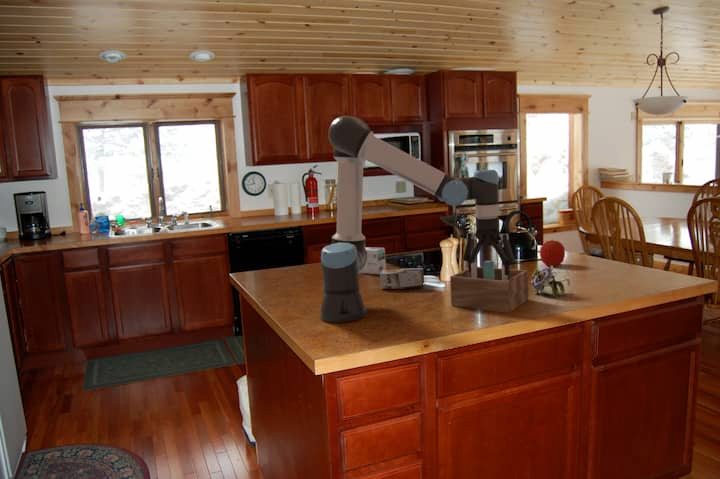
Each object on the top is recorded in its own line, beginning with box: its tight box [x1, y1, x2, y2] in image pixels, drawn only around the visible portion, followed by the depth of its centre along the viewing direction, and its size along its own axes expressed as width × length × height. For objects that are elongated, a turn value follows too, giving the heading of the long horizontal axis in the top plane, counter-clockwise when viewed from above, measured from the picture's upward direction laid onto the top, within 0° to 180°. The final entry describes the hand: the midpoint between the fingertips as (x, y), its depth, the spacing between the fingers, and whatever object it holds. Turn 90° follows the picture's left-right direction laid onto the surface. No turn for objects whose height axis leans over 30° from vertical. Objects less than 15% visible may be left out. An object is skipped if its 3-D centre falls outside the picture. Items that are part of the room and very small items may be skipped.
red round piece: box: [539, 239, 566, 268], centre depth 235 cm, size 10×10×12 cm
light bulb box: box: [358, 246, 387, 275], centre depth 245 cm, size 11×7×11 cm, turn 58°
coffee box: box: [379, 267, 425, 290], centre depth 216 cm, size 9×6×16 cm
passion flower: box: [530, 266, 571, 299], centre depth 192 cm, size 11×11×12 cm
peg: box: [482, 260, 495, 280], centre depth 186 cm, size 4×4×14 cm
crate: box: [449, 266, 529, 314], centre depth 186 cm, size 17×20×10 cm
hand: (489, 282), depth 186 cm, fingers open, 10 cm apart
